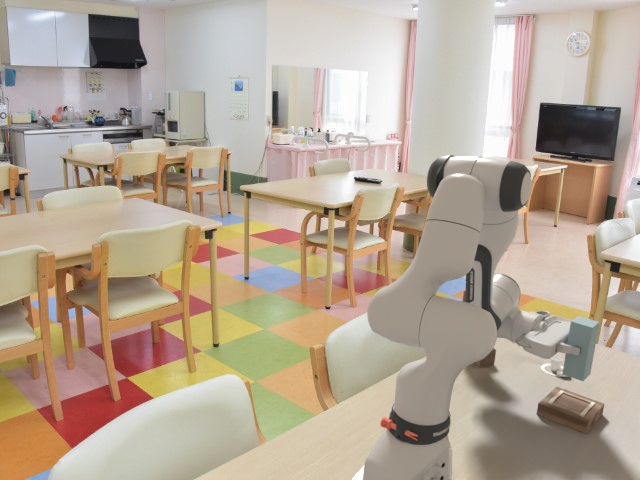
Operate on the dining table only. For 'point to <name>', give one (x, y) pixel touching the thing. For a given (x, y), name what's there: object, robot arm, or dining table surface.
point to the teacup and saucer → (555, 366)
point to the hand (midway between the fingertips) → (585, 347)
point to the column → (584, 337)
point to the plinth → (570, 409)
